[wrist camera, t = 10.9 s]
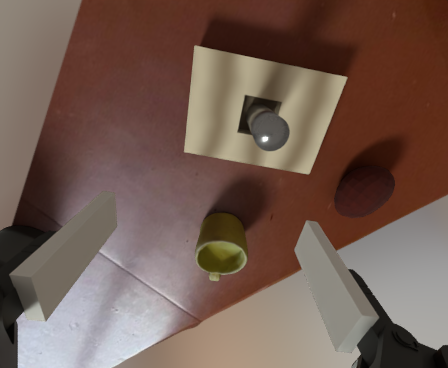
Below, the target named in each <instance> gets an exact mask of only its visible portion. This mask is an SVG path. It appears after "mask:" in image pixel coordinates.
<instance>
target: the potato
mask: <svg viewBox="0 0 448 368" xmlns="http://www.w3.org/2000/svg"><path fill="white" fill-rule="evenodd" d="M394 186H395V180H394V177H393V175H392V174H391V173H390V172H389V171H388V170H387V169H385V168H382V167H379V166H366V167H361V168H358V169H355V170H353V171H352V172H350V173H349V174H348V175H347V176H346V177H345V178H344V179H343V180H342V181H341V183H340V185H339V186H338V188H337V191H336V194H335V198H334V202H335V208H336V210H337V211H338V213H339V214H341V215H343V216H346V217H350V218H358V217H363V216H366V215H368V214H370V213H372V212H374V211H375V210H377V209H378V208H380V207H381V206H382V205H383V204H384V203H385V202H386V201H388V199H389V198H390V196H391V195H392V193H393V190H394Z"/></svg>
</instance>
